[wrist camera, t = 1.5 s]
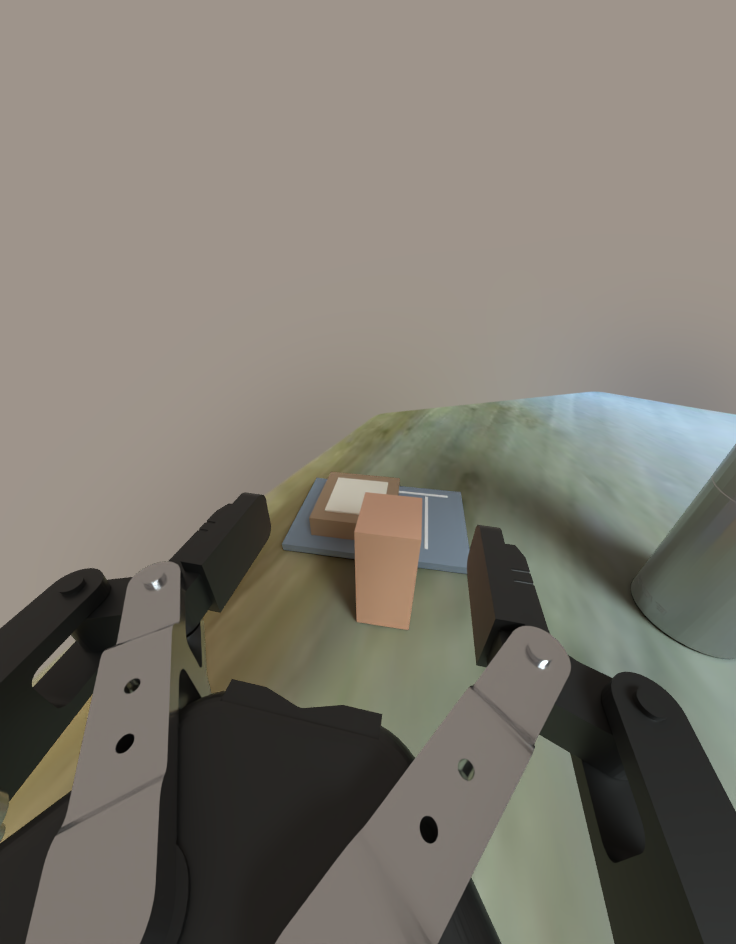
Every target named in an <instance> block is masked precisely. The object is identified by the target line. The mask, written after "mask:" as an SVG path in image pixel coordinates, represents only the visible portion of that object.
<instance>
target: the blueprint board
mask: <svg viewBox="0 0 736 944" xmlns="http://www.w3.org/2000/svg"><path fill="white" fill-rule="evenodd" d="M399 484H400V478H391V477H380V476H370V475H359V474H349V473H338V472H331V473H330V475H329V477H328V479H322V478H316V480H315V482H314V484H313V486H312V488H311V490H310V492H309V493H308V495H307V497H306V499H305V501H304V503H303V505H302V507H301V509H300V511H299V512H298V514H297V516H296V518H295V520H294V522H293V524H292V526H291V528H290V530H289V531H288V533H287V535H286V537H285V539H284V541H283V543H282V546H283V550H290V551H297V552H305V553H312V554H320V555H328V556H335V557H343V558H350V559H355V540H354V531H355V528H356V524H357V520H358V517H359V513H360V510H361V506H362V502H363V499H364V495H365V492H369V493H379V494H389V495H398V496H408V497H418V498H422V536H421V546H420V553H419V560H418V567H419V568H426V569H434V570H441V571H449V572H456V573H464V574H467V560H468V554H469V545H468V538H467V531H466V524H465V518H464V511H463V504H462V497H461V492H454V491H444V490H434V489H424V488H413V487H403V486H399Z"/></svg>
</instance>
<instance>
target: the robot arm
mask: <svg viewBox="0 0 736 944" xmlns="http://www.w3.org/2000/svg"><path fill="white" fill-rule="evenodd" d="M270 531H271V523H270V518H269V513H268V508H267V503H266V498H265V496H264V495H260V494H252V493H242V494H241V495H240V496H239V497H238V498H237V499H236V500H235V501H234V503H233V504H227V505H225V506H224V507H222V508H221V509H219V510H217V511H216V512H215V513H214V514H213V515H212V516H211V517H210V518H209V519H208V520H207V523H204V524H203V525H202V526H201V527H200V529H199V531H197V532H196V533H195V534H194V535H193V536H192V537H191V538H190V539H189V540H188V541H187V542H186V543H185V544H184V545H183V546H182V548H181V549H180V550H179V551H178V552H177V553H176V554H175V555H174V556H173V557H172V558H171V559H170V560H169V561H167V562H166V561H164V562H158V563H155V564H152V565H150V566H147V567H145V568H144V569H142V570H141V571H139V572H138V573H137V574H136V575H135V576H134V577H129V578H120V579H111V580H107V579H106V578H105V576H104V575H103V573H102V572H101V571H100V570H98V569H94V568H93V569H92V568H90V569H82V570H78V571H75V572H73V573H70V574H68V575H66V576H64V577H63V578H61V579H59V580H58V581H56V582H55V583H54V584H52V585H51V586H50V587H49V588H48V589H46V590H45V591H44V592H43V593H42V594H41V595H39V596H38V597H37V598H36V599H35V600H33V602H31V603H30V604H29V605H28V606H26V607H25V608H24V609H23V610H22V611H20V612H19V613H18V614H17V615H16V616H15V617H13V618H12V619H11V620H10V621H9V622H7V623H6V624H5V625H4V626H3V627H2V628H0V841H1V840H2V838H3V836H4V833H5V824H4V823H2V822H3V820H4V818H5V816H6V813H7V810H8V806H9V801H10V800H11V799H12V797H13V796H14V795H15V793H16V792H17V791H18V790H19V788H20V787H21V786H22V784H23V783H24V782H25V780H26V779H27V778H28V777H29V775H30V774H31V773H32V771H33V770H34V769H35V768H36V766H37V765H38V764H39V762H40V761H41V760H42V758H43V757H44V756H45V755H46V753H47V752H48V751H49V749H50V748H51V747H52V746H53V744H54V743H55V742H56V740H57V739H58V738H59V737H60V735H61V734H62V733H63V731H64V730H65V729H66V727H67V726H68V725H69V724H70V722H71V721H72V720H73V718H74V717H75V716H76V715H77V713H78V712H79V711H80V709H81V708H82V707H83V705H84V704H85V703H86V702H87V700H88V699H89V698H90V696H91V695H92V694H93V695H92V700H91V705H90V709H89V714H88V718H87V723H86V728H85V732H84V737H83V741H82V746H81V750H80V755H79V760H78V764H77V769H76V773H75V778H74V783H73V787H72V791H70V792H69V793H67V794H66V795H65V796H63V797H62V798H61V799H59V800H58V801H57V802H55V803H54V804H53V805H51V806H50V807H49V808H47V809H46V810H45V811H43V812H42V813H41V814H39V815H38V816H37V817H35V818H34V819H33V820H31V821H30V822H29V823H27V824H26V825H25V826H23V827H22V828H20V829H19V830H18V831H16V832H15V833H14V834H12V835H11V836H10V837H8V838H7V839H6V840H4V841H3V842H2V843H0V944H501V942H500V939H499V937H498V935H497V933H496V931H495V928H494V926H493V924H492V922H491V920H490V918H489V915H488V913H487V911H486V909H485V907H484V904H483V902H482V900H481V898H480V896H479V893H478V891H477V889H476V887H475V885H474V882H473V880H472V878H471V876H472V874H473V872H474V870H475V868H476V866H477V864H478V862H479V860H480V858H481V856H482V854H483V852H484V850H485V848H486V846H487V844H488V842H489V840H490V838H491V836H492V834H493V832H494V830H495V828H496V826H497V824H498V822H499V820H500V818H501V816H502V814H503V812H504V810H505V808H506V806H507V804H508V802H509V800H510V798H511V796H512V794H513V792H514V790H515V788H516V786H517V784H518V782H519V780H520V778H521V776H522V774H523V772H524V770H525V768H526V766H527V764H528V762H529V760H530V758H531V756H532V754H533V751H534V748H535V746H534V744H535V742H536V739H537V737H538V735H541V736H543V737H544V738H546V739H548V740H550V741H551V742H553V743H555V744H556V745H558V746H560V747H561V748H563V749H565V750H566V751H568V752H570V754H571V758H572V762H573V767H574V771H575V775H576V780H577V784H578V788H579V792H580V797H581V801H582V805H583V810H584V814H585V818H586V822H587V827H588V831H589V835H590V840H591V844H592V848H593V853H594V857H595V861H596V865H597V870H598V874H599V878H600V883H601V887H602V891H603V896H604V900H605V904H606V908H607V913H608V917H609V921H610V926H611V930H612V934H613V939H614V943H615V944H736V811H735V809H734V808H733V806H732V804H731V802H730V800H729V798H728V796H727V794H726V792H725V790H724V788H723V786H722V784H721V782H720V780H719V779H718V777H717V775H716V773H715V771H714V769H713V767H712V765H711V763H710V761H709V759H708V757H707V755H706V753H705V751H704V750H703V748H702V746H701V744H700V742H699V740H698V738H697V736H696V734H695V732H694V730H693V728H692V726H691V724H690V723H689V721H688V719H687V717H686V715H685V713H684V711H683V710H682V708H681V707H680V706H679V704H678V703H677V702H676V701H675V699H674V698H673V697H672V696H671V695H670V694H669V693H668V692H667V691H666V690H664V689H663V688H662V687H661V686H659V685H658V684H657V683H655V682H654V681H652V680H650V679H648V678H647V677H644V676H642V675H640V674H637V673H633V672H621V673H618V674H617V675H615V676H614V678H611V677H609V676H607V675H605V674H603V673H600V672H598V671H596V670H594V669H592V668H590V667H588V666H586V665H584V664H582V663H580V662H578V661H576V660H575V659H573V658H572V657H570V656H569V655H568V654H567V652H566V650H565V649H564V647H563V646H562V645H561V644H560V642H559V641H558V640H557V639H556V638H554V637H553V636H552V635H551V634H550V633H549V630H548V627H547V624H546V621H545V618H544V615H543V612H542V608H541V605H540V602H539V599H538V596H537V593H536V590H535V586H534V585H533V580H532V577H531V574H530V573H529V572H530V571H529V567H528V564H527V561H526V558H525V557H524V555H523V554H522V553H521V552H520V550H519V549H518V548H517V547H516V546H515V545H510V544H505V542H504V539H503V535H502V531H501V529H500V528H497V527H489V526H482V525H477V527H476V529H475V533H474V536H473V540H472V544H471V547H470V551H469V554H468V560H467V578H468V587H469V597H470V607H471V617H472V626H473V636H474V646H475V656H476V665H478V666H483V667H487V668H486V669H485V670H484V672H483V673H482V675H481V676H480V677H479V679H478V680H477V681H476V683H475V684H474V685H473V686H470V687H469V688H468V689H467V690H466V691H465V692H464V694H463V695H462V696H461V698H460V699H459V700H458V702H457V703H456V704H455V706H454V707H453V708H452V710H451V711H450V712H449V714H448V715H447V716H446V718H445V719H444V720H443V722H442V723H441V724H440V726H439V727H438V728H437V730H436V731H435V732H434V734H433V735H432V736H431V738H430V739H429V741H428V742H427V743H426V745H425V746H424V747H423V749H422V750H421V751H420V753H419V754H418V755H417V757H416V758H415V757H414V756H413V755H412V753H411V752H410V751H409V749H408V748H407V747H406V746H405V745H404V744H403V743H402V742H401V740H400V739H399V738H397V737H396V736H395V735H394V734H393V733H391V732H390V731H389V730H387V729H385V728H384V727H382V726H381V720H382V714H379V713H375V712H370V711H366V710H362V709H358V708H353V707H349V706H345V705H338V706H325V707H313V708H300V707H297V706H296V705H294V704H292V703H291V702H289V701H288V700H286V699H284V698H283V697H281V696H280V695H278V694H277V693H275V692H273V691H272V690H270V689H269V688H267V687H264V686H259V685H255V684H251V683H246V682H242V681H238V680H234V679H232V680H231V682H230V684H229V686H228V688H227V690H226V691H222V692H217V693H213V694H211V689H210V685H209V682H208V677H207V669H206V650H205V632H204V620H203V616H204V615H205V614H206V612H207V611H208V610H210V611H215V612H220V613H221V611H222V610H223V608H224V606H225V605H226V603H227V602H228V600H229V599H230V597H231V596H232V594H233V593H234V591H235V589H236V588H237V586H238V585H239V583H240V582H241V580H242V579H243V577H244V576H245V574H246V572H247V571H248V569H249V568H250V566H251V565H252V563H253V562H254V560H255V559H256V557H257V556H258V554H259V552H260V551H261V549H262V548H263V546H264V545H265V543H266V542H267V540H268V538H269V535H270ZM631 592H632V596H633V598H634V600H635V602H636V604H637V606H638V607H639V608H640V610H641V611H642V612H643V614H644V615H645V616H646V617H647V618H648V619H649V620H650V621H651V622H652V623H653V624H655V625H656V626H657V627H658V628H659V629H661V630H662V631H663V632H665V633H666V634H667V635H669V636H670V637H672V638H673V639H675V640H676V641H678V642H680V643H682V644H684V645H686V646H687V647H689V648H692V649H694V650H696V651H699V652H701V653H703V654H707V655H710V656H713V657H717V658H723V659H736V444H735V446H734V447H733V448H732V450H731V451H730V452H729V454H728V455H727V456H726V458H725V459H724V460H723V461H722V463H721V464H720V465H719V467H718V468H717V469H716V471H715V472H714V473H713V475H712V476H711V478H710V479H709V480H708V482H707V483H706V484H705V486H704V487H703V488H702V490H701V491H700V492H699V494H698V495H697V496H696V498H695V499H694V500H693V501H692V503H691V504H690V505H689V507H688V508H687V509H686V511H685V512H684V513H683V515H682V516H681V517H680V519H679V520H678V521H677V523H676V524H675V525H674V527H673V528H672V529H671V531H670V532H669V533H668V535H667V536H666V537H665V539H664V540H663V541H662V542H661V544H660V545H659V546H658V548H657V549H656V550H655V552H654V553H653V554H652V556H651V557H650V558H649V560H648V561H647V562H646V564H645V565H644V566H643V568H642V569H641V570H640V572H639V573H638V574H637V576H636V577H635V578H634V580H633V581H632V583H631ZM70 635H71V636H72V637H73V638H74V639H75V640H76V642H75V643H74V644H73V645H72V646H71V647H70V648H69V649H68V650H67V651H66V652H65V654H64V655H63V656H62V657H61V658H60V659H59V660H58V661H57V662H56V663H55V664H54V665H53V666H52V667H51V669H50V670H49V671H48V672H47V673H46V674H45V675H44V676H43V677H42V678H41V679H40V680H39V681H38V683H37V684H36V685H35V686H34V687H32V679H33V676H34V674H35V673H36V671H37V670H38V668H39V667H40V666H41V665H42V664H43V663H44V662H45V661H46V660H47V659H48V658H49V657H50V656H51V655H52V654H53V653H54V651H55V650H56V649H57V648H58V647H59V646H60V645H61V644H62V643H63V642H64V641H65V640H66V639H67V638H68V637H69V636H70Z"/></svg>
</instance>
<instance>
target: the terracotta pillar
mask: <svg viewBox="0 0 736 944" xmlns="http://www.w3.org/2000/svg"><path fill="white" fill-rule="evenodd" d="M421 536H422V498H418V497H408V496H398V495H389V494H379V493H369V492H365V495H364V499H363V502H362V506H361V510H360V513H359V517H358V520H357V524H356V528H355V531H354V540H355V578H356V615H357V622H360V623H367V624H373V625H379V626H386V627H392V628H398V629H405V630H409V624H410V617H411V610H412V603H413V595H414V588H415V581H416V574H417V567H418V560H419V553H420V546H421Z"/></svg>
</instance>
